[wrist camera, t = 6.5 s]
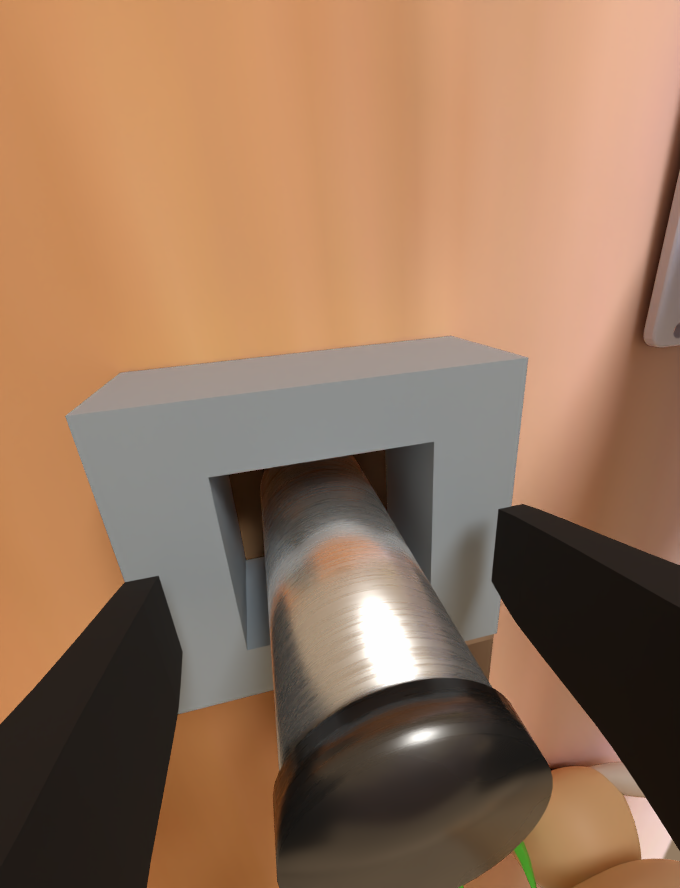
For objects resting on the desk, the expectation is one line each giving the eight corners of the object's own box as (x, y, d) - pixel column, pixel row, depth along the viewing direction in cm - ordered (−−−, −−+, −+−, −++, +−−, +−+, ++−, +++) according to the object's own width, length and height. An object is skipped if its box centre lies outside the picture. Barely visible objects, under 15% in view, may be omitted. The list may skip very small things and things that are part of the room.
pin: (376, 444, 13) (597, 728, 5) (351, 536, 14) (494, 891, 6) (266, 428, 12) (310, 751, 4) (248, 529, 13) (254, 940, 5)
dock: (451, 335, 12) (528, 357, 9) (442, 557, 15) (496, 633, 12) (119, 372, 10) (65, 415, 7) (189, 611, 13) (173, 715, 10)
